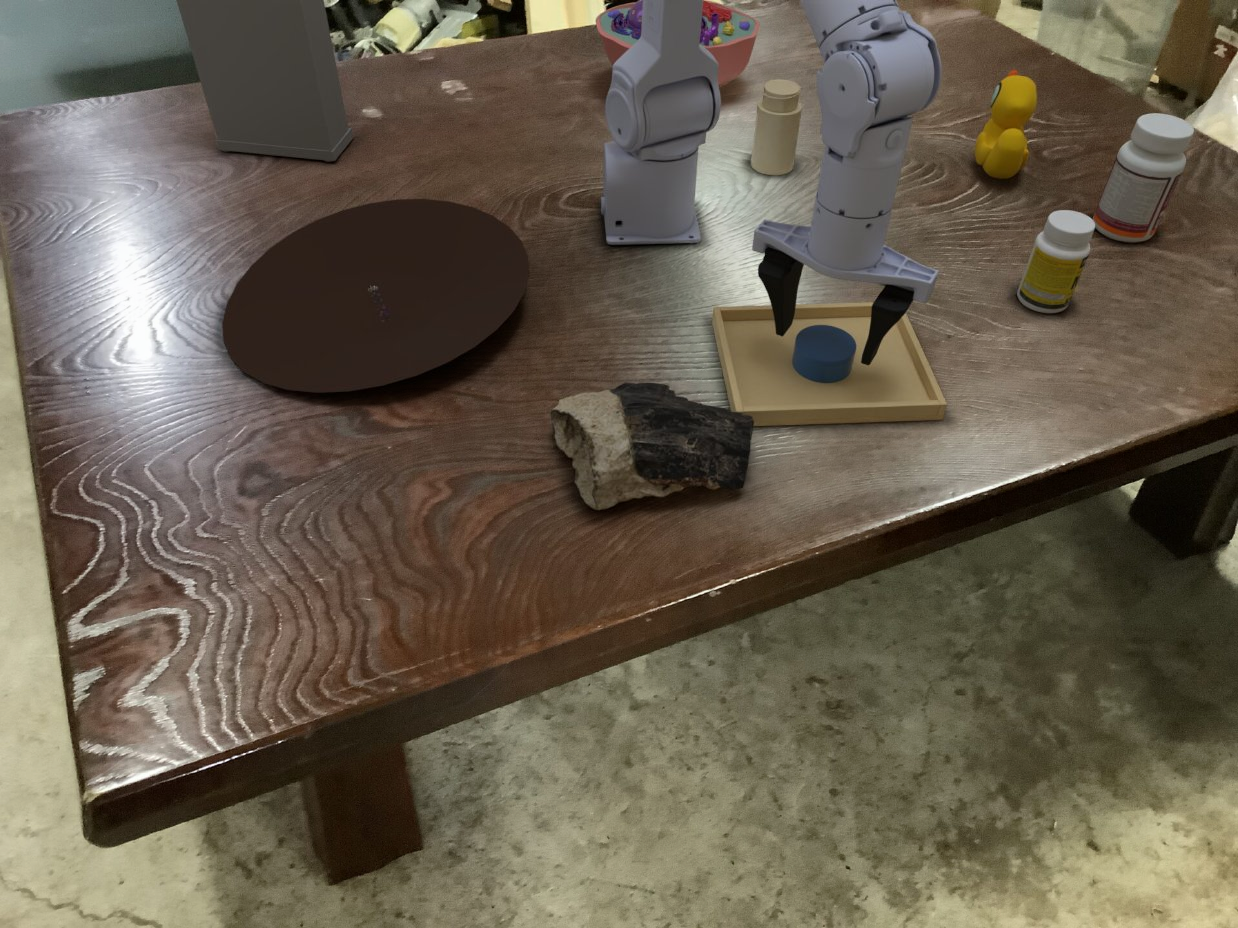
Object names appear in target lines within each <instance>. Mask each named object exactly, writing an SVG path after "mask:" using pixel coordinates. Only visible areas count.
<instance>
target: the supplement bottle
mask: <svg viewBox="0 0 1238 928" xmlns="http://www.w3.org/2000/svg"><path fill="white" fill-rule="evenodd" d="M1095 229H1096V227H1095V223H1094V221H1093V218H1091V217H1090V216H1088V215H1087V214H1085V213H1083V212H1080V211H1076V210H1070V209H1060V210H1055V211H1053V212H1051V213H1050V214H1049V215H1048V217H1047V220H1046V222H1045V224H1044V227H1043V230H1042V231H1041V232H1039V233H1038V234H1037V236H1036V237H1035V241H1034V242H1033V245H1032V249H1031V251H1030V254H1029V257H1028V260H1027V263H1026V265H1025V268H1024V271H1023V274H1022V277H1021V279H1020V282H1019V285H1018V288H1017V291H1016V295H1017V298H1018V300H1019V302H1020V303H1021V304H1022V305H1023V306H1025V307H1026V308H1028V309H1029V310H1032V311H1034V312H1036V313H1037V312H1038V313H1042V314H1043V313H1044V314H1057V313H1061V312H1063V311H1064V310H1066V309H1067V308H1068V307H1069V305H1070V303H1071V301H1072V298H1073V295H1074V293H1075V290H1076V288H1077V285H1078V283H1079V281H1080V278H1081V275H1082V273H1083V270H1084V268H1085V266H1086V263H1087V260H1088V258H1089V255H1090V253H1091V244H1090V242H1091V240H1092V238H1093V234H1094V231H1095Z"/></svg>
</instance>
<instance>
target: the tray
mask: <svg viewBox="0 0 1238 928" xmlns="http://www.w3.org/2000/svg"><path fill="white" fill-rule="evenodd" d="M873 303H874V301H867V302H866V301H865V302H834V303H833V302H831V303H801V304H799V303H798V304H797V303H796V308H795V314H794V319H793V322H792V325H791V326H790V328H789V329H788V330H787V332H786V333H785V334H784V336H783V337H782V336H779V335H776V329H775V321H774V315H773V310H772V306H771V304H765V305H761V304H760V305H731V306H729V305H727V306H713V307H712V315H711V316H712V317H711V324H712V325H711V326H712V329H713V332H714V338H715V343H716V348H717V352H718V357H719V362H720V366H721V372H722V376H723V381H724V385H725V390H726V395H727V400H728V404H729V408H730V411H732V412H739V413H742V414H743V415H749V416H752V417H753V420H754V426H753V427H771V426H796V425H797V426H799V425H801V426H802V425H827V424H828V425H829V424H855V423H856V424H857V423H885V422H886V423H887V422H916V421H942V420H943V419H944V415H945V413H946V410H947V406H948V402H947V401H946V399H945V396H944V394H943V392H942V389H941V388H940V387H941V386H940V385H939V383H938V381H937V378H936V377H935V374H934V372H933V370H932V369H933V368H932V367H931V365H930V363H929V361H928V359H927V355H926V354H925V352H924V350H923V347H922V346H921V342H920V341H919V339H918V337H917V334H916V331H915V330H914V327H913V325H912V323H911V321H910V319H909V317H908V313H907V312H906V313H905V314H904V315H903V317H902V318H901V319H900V320H899V321H898V322H897V323H896V324H895V325H894V326H893V327H892V328H891V329H890V330H889V331H888V333H887V334H886V335H885V336H884V338H883V340H882V342H881V344H880V346H879V349H878V351H877V354H876V356H875V357H874V359H873V360H872V362H871V364H870V365H865V364H862V363H861V359H862V354H863V351H864V348H865V345H866V342H867V339H868V335H869V329H870V322H871V308H872V304H873ZM813 325H829V326H834V327H837V328H840V329H842V330H844V331H846V332H847V333H849V334H850V335H851V336H852V337H853V338H854V340H855V342H856V346H857V347H856V352H855V357H854V361H853V366H852V370H851V372H850V374H849V375H848V376H847V377H846V378H844V379H843V380H841V381H838V382H833V383H820V382H815V381H811V380H809V379H806V378H804V377H803V376H801V375H800V374H799V373H797V371H796V370H795V369H794V367H793V364H792V357H793V351H794V346H795V340H796V336H797V334H798V333H799V332H800V331H801V330H802V329H804V328H806V327H809V326H813Z"/></svg>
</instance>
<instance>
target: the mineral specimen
mask: <svg viewBox="0 0 1238 928" xmlns="http://www.w3.org/2000/svg"><path fill="white" fill-rule="evenodd" d="M670 388H671V387H670V385H668V384H664V383H657V382H649V381H648V382H647V381H646V382H638V383H637V382H628V381H627V382H623V383H622V384H621V383H620V384H619V385H617V386H616V387H614V388H612V389H605V390H601V391H599V392H598V391H591V392H590V391H589V392H580V393H577V394H575V395H570V396H567V397H563V398H561V399H558V400H557V403H558V404H557V405H556V406H555V407H552V409H551V411H550V419H551V425H552V430H553V432H552V433H553V438H554V441H555V445H556V447H557V448H558V449H559V450H560V451H561V452H562V453H564V454H565V457H567V458H570V459H571V467H572V468H573V469H574V470H575V471H574V472H575V473H574V478H573V479H574V480H573V483H574V484H575V485H576V488H577V490H578V492H579V496H580V497H581V499H583V502H584V503H585V505H587V506H588V507H590V508H591V509H592V510H594V511H600V510H607V509H609V508H612V507H615V506H616V505H617V504H618V503H620V502H627V501H630V500H632V499H642V498H644V497H656V498H664V497H667V496H669V495H671V494H672V493H674V492H681V491H683V490H684V489H686V488H695V487H701V486H703V487H705V488H706V489H710V490H717V489H720V488H721V489H727V490H742V489H744V486H745V482H746V477H747V473H748V468H749V460H750V459H749V458H750V454H751V446H752V444H751V443H752V442H751V441H752V439H753V438H752V437H753V431H754V427H755V426H754V420H753V417H752V416H749V415H743V414H742V413H739V412H732V411H731V409H730V410H729V409H727V408H725V407H720V406H714V405H708V404H703V403H700V402H697V401H696V402H695V401H691V400H689V398H687V397H686V396H680V395H679V396H678V395H676V391H675V390H672V389H670Z"/></svg>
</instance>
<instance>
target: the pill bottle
mask: <svg viewBox="0 0 1238 928" xmlns="http://www.w3.org/2000/svg"><path fill="white" fill-rule="evenodd" d="M1194 133H1195V128H1194V126H1192V124H1191V123H1189V122H1188V121H1187V120H1185V119H1183V118H1180V117H1178V116H1175V115H1171V114H1166V113H1155V112H1153V113H1146V114H1143V115H1140V116H1139V117H1138V118H1137V120H1136V121H1135V125H1134V127H1133V129H1132V131H1131V134H1130V139H1129V140H1128V141H1126V142H1125V143H1124V144H1122V146H1121V147H1120V148H1119V150H1118V152H1117V154H1116V156H1115V160H1114V162H1113V165H1112V167H1111V170H1110V173H1109V174H1108V177H1107V180H1106V183H1105V186H1104V188H1103V190H1102V193H1101V196H1100V197H1099V200H1098V203H1097V205H1096V208H1095V211H1094V213H1093V216H1092V220H1093V221H1094V223H1095V229H1096V230H1097V231H1098V232H1099V233H1100V234H1102V235H1103V236H1105V237H1107V238H1108V239H1111V240H1114V241H1118V242H1124V243H1141V242H1146V241H1147V240H1149V239H1151V238H1152V237H1154V235H1155V233H1156V231H1157V229H1158V227H1159V226H1160V222H1161V220H1162V218H1163V216H1164V214H1165V212H1166V210H1167V207H1168V205H1169V203H1170V201H1171V198H1172V196H1173V194H1174V192H1175V190H1176V187H1177V185H1178V184H1179V181H1180V179H1181V177H1182V174H1183V172H1184V169H1185V167H1186V164H1187V158H1186V155H1185V153H1184V152H1186V151H1187V150H1188V148H1189V145H1190V142H1191V140H1192V138H1193V136H1194Z"/></svg>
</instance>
